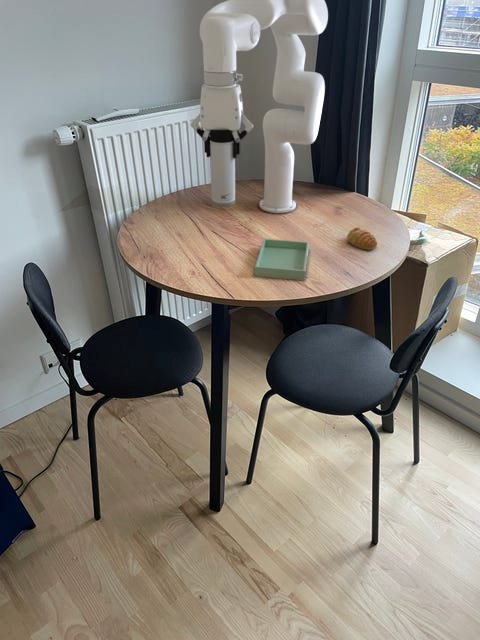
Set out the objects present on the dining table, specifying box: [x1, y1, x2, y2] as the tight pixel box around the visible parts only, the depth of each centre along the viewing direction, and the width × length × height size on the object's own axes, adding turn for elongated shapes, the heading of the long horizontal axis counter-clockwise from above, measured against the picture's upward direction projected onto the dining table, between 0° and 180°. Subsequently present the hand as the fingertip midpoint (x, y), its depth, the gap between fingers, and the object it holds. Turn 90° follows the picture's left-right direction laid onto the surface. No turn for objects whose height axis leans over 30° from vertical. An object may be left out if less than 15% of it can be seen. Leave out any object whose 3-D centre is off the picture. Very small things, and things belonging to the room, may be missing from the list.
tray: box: [254, 238, 310, 281], centre depth 134 cm, size 17×13×3 cm
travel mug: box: [209, 130, 236, 208], centre depth 125 cm, size 6×7×20 cm
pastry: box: [346, 227, 378, 251], centre depth 143 cm, size 9×7×4 cm
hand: (222, 155), depth 124 cm, fingers closed on travel mug, 6 cm apart
